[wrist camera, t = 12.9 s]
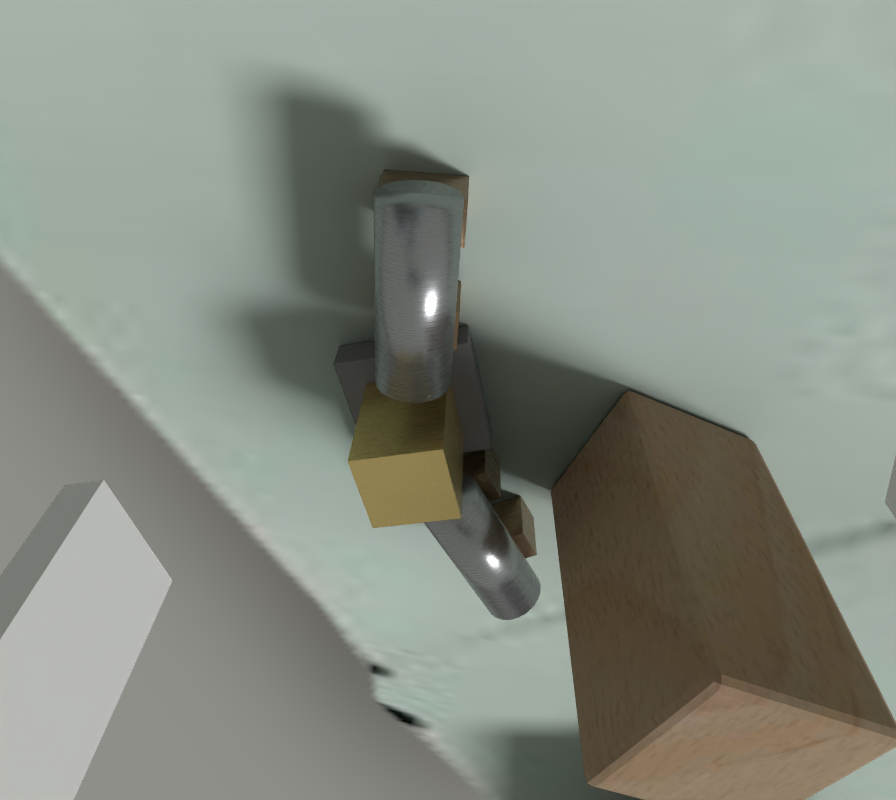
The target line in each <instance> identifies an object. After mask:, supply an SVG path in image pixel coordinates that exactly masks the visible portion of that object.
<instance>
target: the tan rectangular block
mask: <svg viewBox="0 0 896 800" xmlns="http://www.w3.org/2000/svg"><path fill="white" fill-rule="evenodd" d="M463 446H464V435H463V431H462V427H461V423H460V419H459V414H458V410H457V406H456V402H455V398H454V393H453V389H452V385H451V384H450V387H449V389H448V391H447V392H446V393H445V394H444V395H442V396H441V397H439V398H437V399H435V400H432V401H428V402H422V403H407V402H401V401H397V400H394V399H391V398H389V397H387V396H386V395H384V394H383V393H381V392H380V391H379V389H378V388H377V386H376V383H375V382H372V383H366V386H365V391H364V395H363V399H362V403H361V408H360V412H359V416H358V420H357V425H356V429H355V433H354V437H353V441H352V446H351V450H350V454H349V458H348V463H349V466H350V469H351V471H352V474H353V477H354V479H355V482H356V485H357V487H358V490H359V492H360V495H361V498H362V500H363V503H364V506H365V508H366V511H367V514H368V516H369V519H370V522H371V524H372V527H373V528H378V527H387V526H396V525H405V524H414V523H423V522H432V521H441V520H450V519H459V518H461V509H462V477H463Z"/></svg>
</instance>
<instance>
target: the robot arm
mask: <svg viewBox="0 0 896 800" xmlns="http://www.w3.org/2000/svg"><path fill="white" fill-rule="evenodd" d="M885 503H886V505H887V506H888V508H889V509H890V511H891V512H892V514H893V515H894V517H895V518H896V457H895V461H894V465H893V470H892V474H891V478H890V482H889V487H888V491H887V495H886V500H885ZM171 582H172V579H171V578H170V577H169V575H168V574H167V572H166V571H165V569H164V568H163V566H162V565H161V563H160V562H159V561H158V559H157V558H156V556H155V555H154V553H153V552H152V550H151V549H150V547H149V546H148V544H147V543H146V541H145V540H144V538H143V537H142V535H141V534H140V532H139V531H138V529H137V528H136V527H135V525H134V524H133V522H132V521H131V519H130V518H129V516H128V515H127V513H126V512H125V511H124V509H123V508H122V506H121V505H120V503H119V502H118V500H117V499H116V497H115V496H114V494H113V493H112V491H111V490H110V488H109V487H108V485H107V484H106V483H105V481H104V480H99V481H91V482H84V483H76V484H69V485H64V487H63V488H62V490H61V491H60V492H59V494H58V495H57V496H56V498H55V499H54V501H53V502H52V503H51V505H50V506H49V508H48V509H47V511H46V512H45V513H44V515H43V516H42V518H41V519H40V520H39V522H38V523H37V525H36V526H35V528H34V529H33V531H32V532H31V533H30V535H29V536H28V537H27V539H26V540H25V542H24V543H23V544H22V546H21V547H20V549H19V550H18V552H17V553H16V554H15V556H14V557H13V559H12V560H11V562H10V563H9V564H8V566H7V567H6V568H5V570H4V571H3V573H2V574H1V575H0V800H74V798H75V795H76V793H77V791H78V789H79V786H80V784H81V782H82V780H83V778H84V775H85V773H86V771H87V769H88V766H89V764H90V762H91V760H92V758H93V755H94V753H95V751H96V749H97V747H98V744H99V742H100V740H101V738H102V735H103V733H104V731H105V729H106V727H107V724H108V722H109V720H110V718H111V715H112V713H113V711H114V709H115V706H116V704H117V702H118V700H119V698H120V696H121V693H122V691H123V689H124V687H125V684H126V682H127V680H128V678H129V675H130V673H131V671H132V669H133V667H134V665H135V662H136V660H137V658H138V656H139V653H140V651H141V649H142V647H143V645H144V642H145V640H146V638H147V636H148V634H149V631H150V629H151V627H152V625H153V622H154V620H155V618H156V616H157V614H158V611H159V609H160V607H161V605H162V602H163V600H164V598H165V596H166V594H167V591H168V589H169V587H170V585H171Z"/></svg>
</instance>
